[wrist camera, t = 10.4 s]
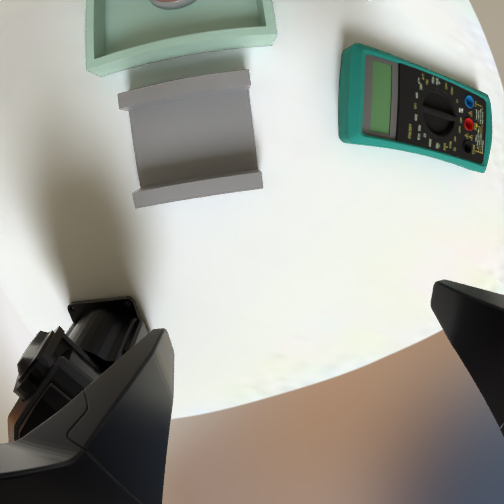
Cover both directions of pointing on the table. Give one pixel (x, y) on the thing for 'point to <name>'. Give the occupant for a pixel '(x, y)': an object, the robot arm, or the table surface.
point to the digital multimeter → (412, 109)
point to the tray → (171, 30)
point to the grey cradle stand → (193, 137)
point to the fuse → (171, 4)
